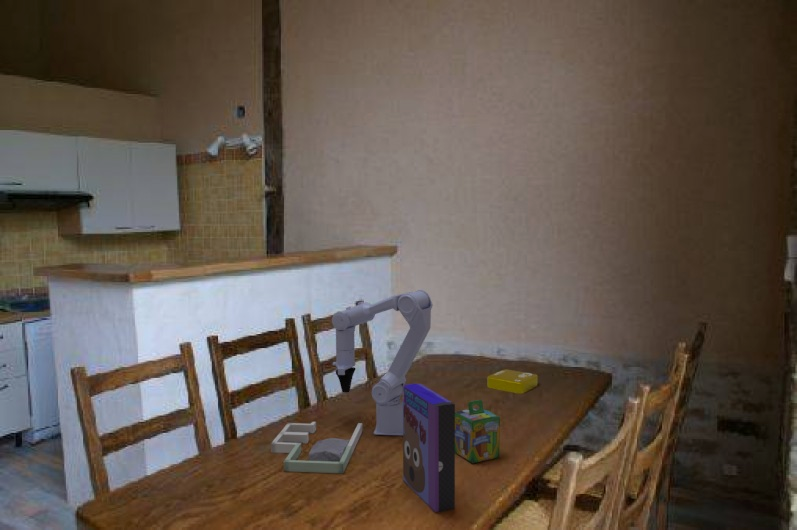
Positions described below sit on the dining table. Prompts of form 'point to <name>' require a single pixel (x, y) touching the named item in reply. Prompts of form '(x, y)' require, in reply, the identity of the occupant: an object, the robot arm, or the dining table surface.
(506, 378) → the element tile
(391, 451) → the dining table surface
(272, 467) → the dining table surface
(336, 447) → the stone block
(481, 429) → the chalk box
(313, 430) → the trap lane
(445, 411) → the cereal box
